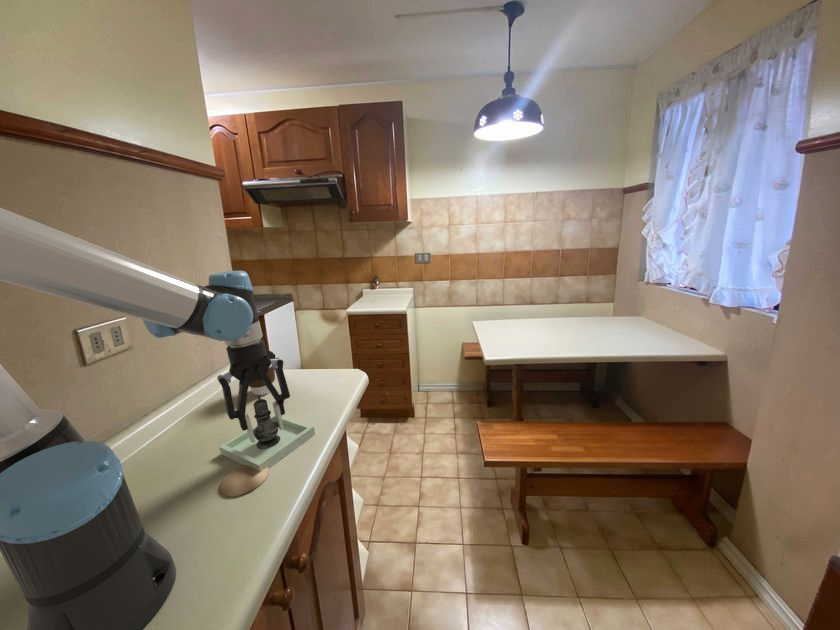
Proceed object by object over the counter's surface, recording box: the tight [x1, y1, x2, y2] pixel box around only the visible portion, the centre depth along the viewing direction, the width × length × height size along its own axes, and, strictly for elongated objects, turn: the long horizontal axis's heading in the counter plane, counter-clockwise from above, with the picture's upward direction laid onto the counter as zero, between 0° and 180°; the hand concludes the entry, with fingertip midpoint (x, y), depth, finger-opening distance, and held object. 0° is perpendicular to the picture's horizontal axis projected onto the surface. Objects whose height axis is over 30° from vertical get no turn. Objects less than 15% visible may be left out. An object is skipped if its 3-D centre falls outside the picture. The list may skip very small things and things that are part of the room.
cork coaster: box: [220, 465, 270, 498], centre depth 70 cm, size 9×9×1 cm
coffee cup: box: [249, 350, 277, 397], centre depth 108 cm, size 11×11×12 cm
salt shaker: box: [253, 396, 280, 449], centre depth 80 cm, size 6×6×12 cm
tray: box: [218, 413, 316, 472], centre depth 81 cm, size 15×15×2 cm
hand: (266, 433), depth 81 cm, fingers closed on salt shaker, 6 cm apart
